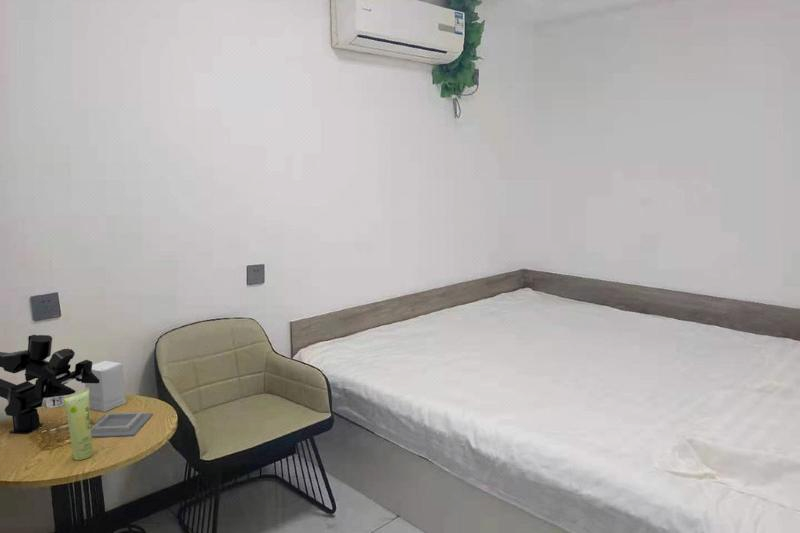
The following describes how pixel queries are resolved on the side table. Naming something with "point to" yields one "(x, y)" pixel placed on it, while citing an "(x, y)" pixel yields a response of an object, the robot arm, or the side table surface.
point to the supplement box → (107, 386)
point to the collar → (103, 429)
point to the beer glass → (55, 401)
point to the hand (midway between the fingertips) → (87, 387)
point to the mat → (122, 423)
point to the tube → (79, 423)
